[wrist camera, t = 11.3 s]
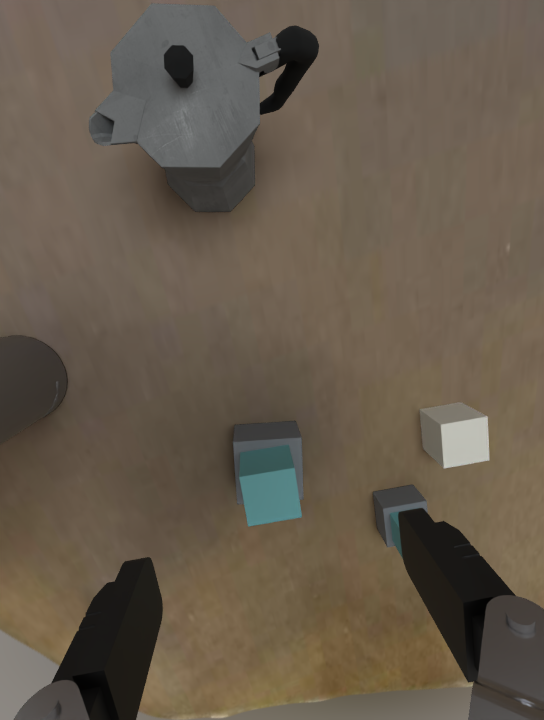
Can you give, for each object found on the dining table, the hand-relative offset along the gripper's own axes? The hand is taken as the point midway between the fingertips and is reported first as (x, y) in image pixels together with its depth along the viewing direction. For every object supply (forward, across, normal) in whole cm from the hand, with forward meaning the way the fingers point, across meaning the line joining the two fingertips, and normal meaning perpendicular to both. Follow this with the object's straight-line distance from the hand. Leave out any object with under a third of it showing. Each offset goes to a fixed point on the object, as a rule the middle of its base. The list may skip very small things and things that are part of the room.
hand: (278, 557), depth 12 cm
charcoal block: (+30, +1, +10) cm, 32 cm away
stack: (+30, -14, +21) cm, 39 cm away
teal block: (+25, +1, +10) cm, 27 cm away
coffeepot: (+30, 0, -21) cm, 37 cm away
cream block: (+30, -20, +11) cm, 38 cm away
